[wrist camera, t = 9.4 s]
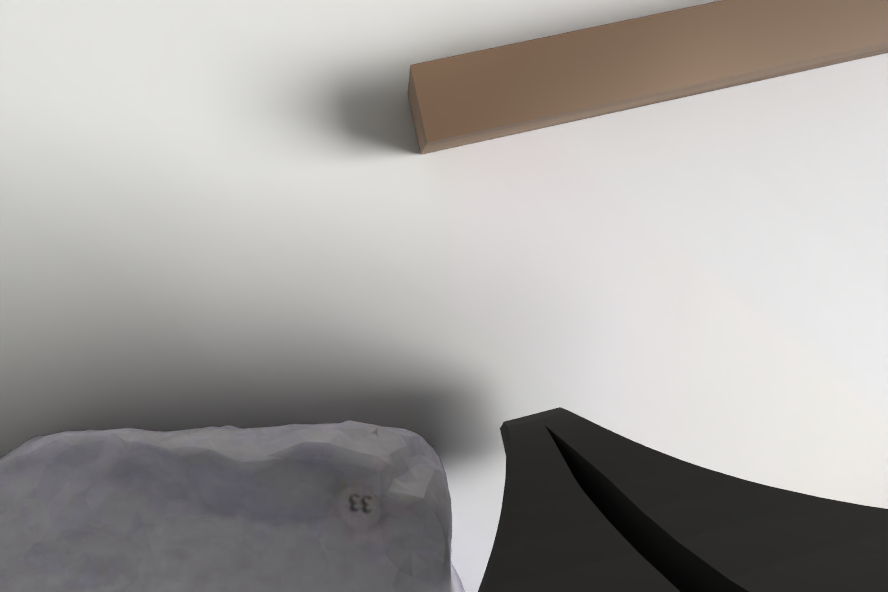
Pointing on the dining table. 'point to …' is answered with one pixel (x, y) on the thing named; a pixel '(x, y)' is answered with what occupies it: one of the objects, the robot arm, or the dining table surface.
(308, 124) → the dining table surface
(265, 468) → the stone block
